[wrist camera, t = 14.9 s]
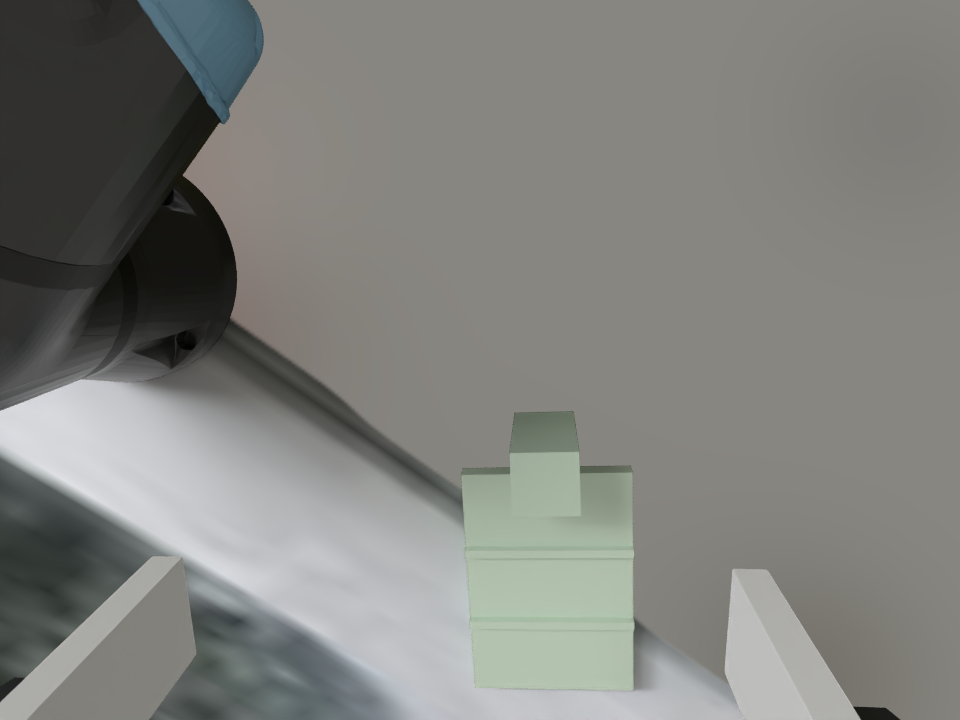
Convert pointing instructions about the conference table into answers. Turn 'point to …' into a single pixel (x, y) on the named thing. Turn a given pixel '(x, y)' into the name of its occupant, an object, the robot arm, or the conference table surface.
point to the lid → (550, 564)
